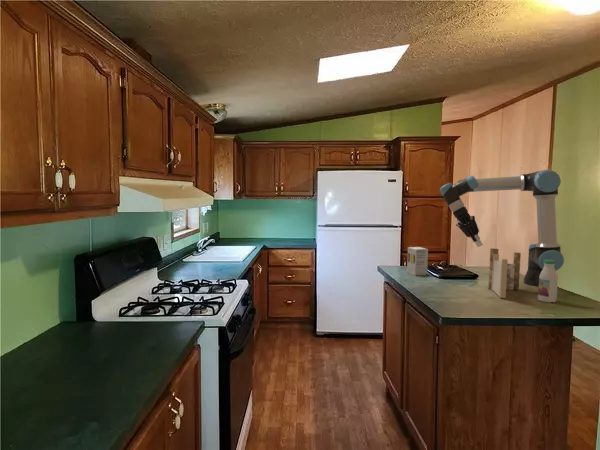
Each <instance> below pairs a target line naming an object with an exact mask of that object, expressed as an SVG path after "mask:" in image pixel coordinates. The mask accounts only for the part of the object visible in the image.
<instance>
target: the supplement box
mask: <svg viewBox="0 0 600 450" xmlns="http://www.w3.org/2000/svg"><path fill="white" fill-rule="evenodd" d="M428 260H429V249H428V248H425V247H421V246H413V247H412V246H409V247H407V261H406V262H407V263H406V264H407V265H406V273H407V274H409V275H411V276H415V277H417V276H427V275H428V264H429V263H428V262H429V261H428ZM426 274H427V275H426ZM416 275H417V276H416Z"/></svg>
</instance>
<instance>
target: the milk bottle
mask: <svg viewBox="0 0 600 450" xmlns="http://www.w3.org/2000/svg"><path fill="white" fill-rule="evenodd" d="M554 265H555V261H554V260H544V268H543V270H542V271H541V273H540V276H539V286H537V288H538V289H537V300H539V301H540V302H544V303H551V302H553V303H556V302H557V296H558V281H559V280H558V275H557V274H558V273H557V270H556V271H555V268H554Z"/></svg>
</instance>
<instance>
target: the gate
mask: <svg viewBox="0 0 600 450" xmlns="http://www.w3.org/2000/svg"><path fill="white" fill-rule="evenodd" d="M508 261H509V260H508V258H501V259H500V254H499V253H498V254H493V269H492V288H491V289H492V290H491V291H493V292H494V293H495V294H496V295H497V296H498V297H499V298H502V299H505V298H506V297H507V295H506V293H507V290H506V281H507V278H510V274H507V264H509V263H508Z"/></svg>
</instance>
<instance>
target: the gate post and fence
mask: <svg viewBox="0 0 600 450" xmlns="http://www.w3.org/2000/svg"><path fill="white" fill-rule="evenodd" d="M489 250H490V251H489V266H488V267H489V271H488V273H489V274H488V290H491V291H493V290H492V289H491V288H492V269H493V254H498V255H499V252H500V251H499V248H490V249H489ZM520 271H521V252H513V263H507V274H510V278H507V281H506V291H507V290H508V291H519V290H520V287H519V286H520V276H521V275H520V274H521V272H520Z"/></svg>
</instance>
